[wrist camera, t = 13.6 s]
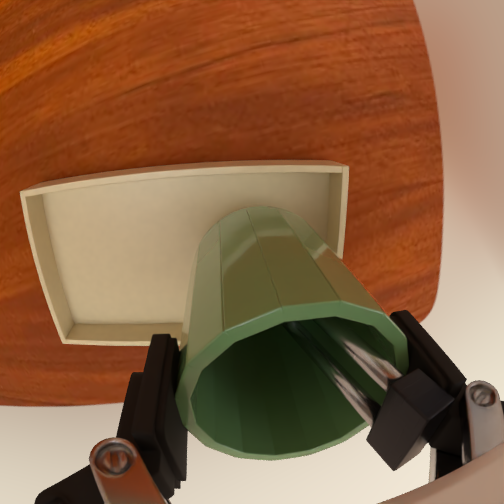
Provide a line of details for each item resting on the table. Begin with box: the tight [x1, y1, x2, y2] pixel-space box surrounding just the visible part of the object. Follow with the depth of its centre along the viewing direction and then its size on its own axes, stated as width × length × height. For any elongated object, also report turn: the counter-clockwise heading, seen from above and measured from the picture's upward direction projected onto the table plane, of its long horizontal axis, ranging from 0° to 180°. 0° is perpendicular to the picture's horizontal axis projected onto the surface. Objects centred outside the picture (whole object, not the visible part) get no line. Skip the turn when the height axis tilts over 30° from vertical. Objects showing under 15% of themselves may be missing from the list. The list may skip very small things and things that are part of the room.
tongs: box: [281, 316, 454, 471], centre depth 11 cm, size 1×3×11 cm, turn 0°
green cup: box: [174, 206, 409, 460], centre depth 12 cm, size 7×7×9 cm
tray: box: [20, 160, 349, 346], centre depth 18 cm, size 19×11×3 cm, turn 91°
